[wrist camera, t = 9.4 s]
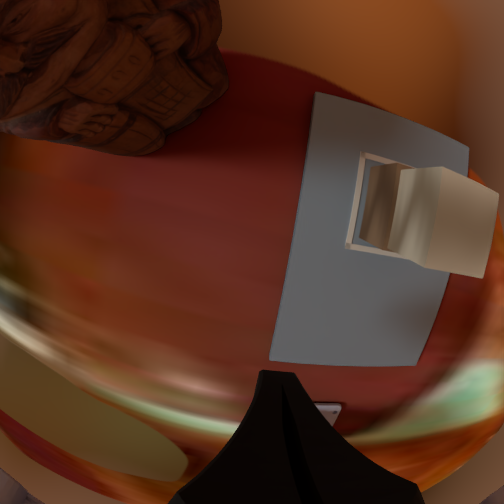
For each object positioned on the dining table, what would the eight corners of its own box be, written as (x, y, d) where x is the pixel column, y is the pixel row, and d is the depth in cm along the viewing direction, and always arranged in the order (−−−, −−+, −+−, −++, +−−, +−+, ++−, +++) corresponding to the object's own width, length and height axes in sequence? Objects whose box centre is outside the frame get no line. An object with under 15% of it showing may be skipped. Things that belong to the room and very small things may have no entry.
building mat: (412, 360, 21) (416, 365, 20) (269, 354, 21) (269, 360, 20) (463, 148, 17) (469, 147, 16) (313, 95, 17) (316, 91, 16)
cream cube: (443, 259, 14) (482, 278, 10) (387, 248, 14) (424, 267, 10) (456, 190, 13) (499, 193, 9) (401, 169, 13) (442, 166, 9)
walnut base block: (415, 248, 18) (444, 262, 14) (358, 237, 18) (382, 250, 14) (426, 184, 17) (458, 185, 13) (370, 166, 17) (397, 162, 13)
